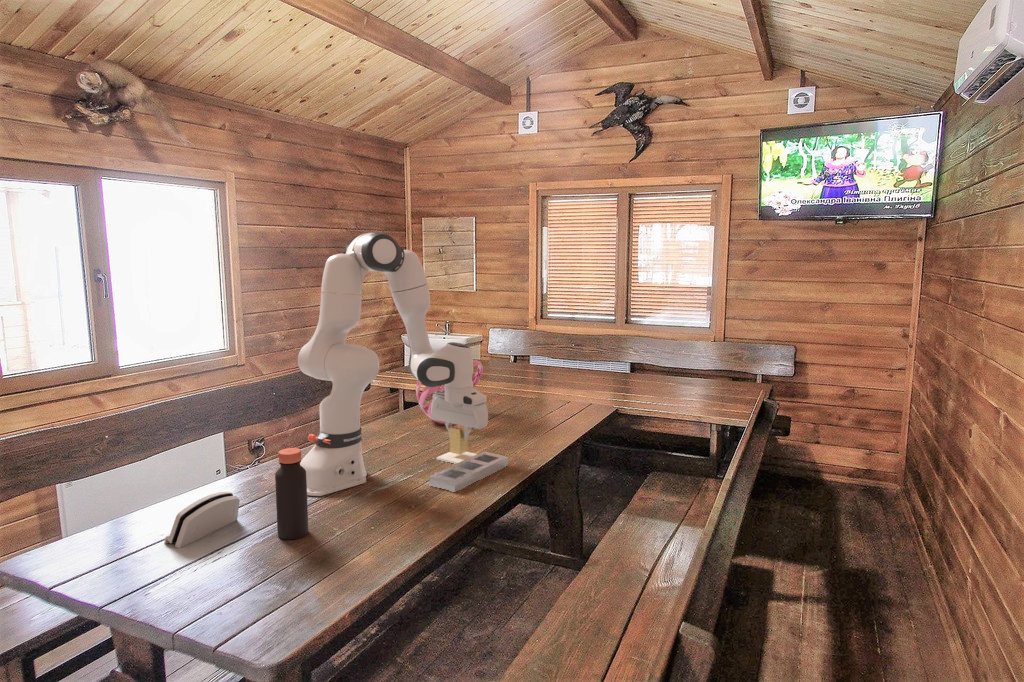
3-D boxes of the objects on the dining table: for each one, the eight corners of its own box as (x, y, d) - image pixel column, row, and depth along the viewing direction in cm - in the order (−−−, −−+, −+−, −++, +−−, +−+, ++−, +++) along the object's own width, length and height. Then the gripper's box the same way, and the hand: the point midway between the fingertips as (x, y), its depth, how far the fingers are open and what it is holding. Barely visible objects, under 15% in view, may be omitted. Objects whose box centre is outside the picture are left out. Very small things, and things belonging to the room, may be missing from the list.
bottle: (297, 525, 155) (294, 444, 152) (314, 533, 151) (311, 450, 148) (271, 534, 150) (268, 451, 147) (288, 543, 146) (284, 458, 143)
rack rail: (454, 493, 176) (454, 482, 176) (429, 485, 181) (429, 475, 181) (507, 466, 198) (507, 456, 197) (483, 460, 203) (483, 451, 202)
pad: (461, 466, 197) (461, 463, 197) (436, 459, 203) (436, 457, 203) (481, 457, 206) (481, 454, 206) (456, 451, 211) (456, 449, 211)
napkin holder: (222, 515, 160) (230, 481, 157) (236, 525, 158) (245, 490, 156) (162, 544, 145) (170, 506, 142) (177, 555, 143) (185, 517, 140)
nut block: (460, 454, 201) (459, 429, 200) (449, 452, 203) (449, 427, 202) (467, 451, 205) (467, 426, 203) (457, 448, 207) (457, 424, 205)
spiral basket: (514, 371, 243) (462, 327, 250) (470, 403, 222) (413, 354, 229) (488, 418, 260) (439, 376, 267) (444, 452, 239) (392, 405, 246)
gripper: (426, 391, 204) (426, 434, 206) (479, 401, 193) (478, 445, 195) (439, 388, 209) (439, 429, 211) (491, 397, 198) (490, 440, 200)
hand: (458, 437), depth 203 cm, fingers closed on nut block, 4 cm apart
